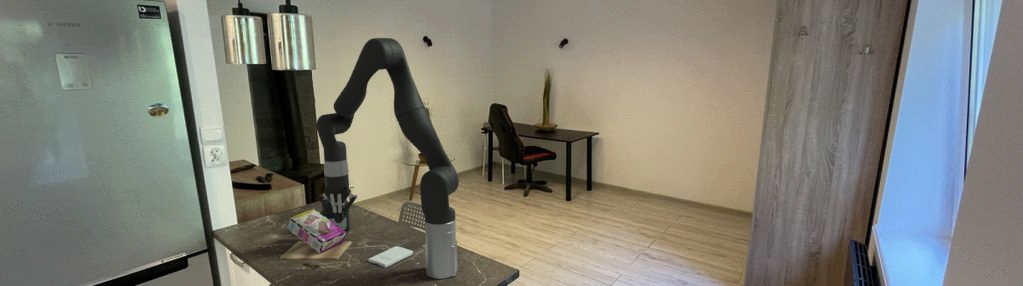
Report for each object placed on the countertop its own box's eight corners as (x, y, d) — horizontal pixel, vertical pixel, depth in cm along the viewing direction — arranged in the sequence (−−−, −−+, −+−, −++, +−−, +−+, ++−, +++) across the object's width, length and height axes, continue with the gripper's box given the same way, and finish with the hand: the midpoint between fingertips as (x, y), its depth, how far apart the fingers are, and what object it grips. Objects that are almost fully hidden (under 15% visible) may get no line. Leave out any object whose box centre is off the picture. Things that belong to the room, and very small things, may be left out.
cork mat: (351, 242, 169) (351, 241, 169) (337, 259, 155) (337, 257, 155) (298, 242, 169) (298, 241, 169) (279, 259, 155) (279, 257, 155)
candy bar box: (323, 242, 156) (288, 217, 161) (320, 254, 158) (285, 229, 162) (347, 231, 166) (313, 207, 171) (343, 242, 168) (310, 219, 173)
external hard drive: (413, 255, 160) (385, 268, 150) (395, 250, 165) (367, 262, 154) (413, 250, 160) (385, 264, 150) (395, 245, 164) (367, 258, 154)
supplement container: (343, 224, 187) (341, 195, 185) (355, 231, 180) (354, 201, 178) (316, 231, 180) (314, 201, 178) (328, 239, 173) (326, 207, 170)
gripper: (311, 175, 154) (315, 226, 157) (352, 176, 154) (355, 226, 157) (321, 170, 161) (324, 218, 164) (359, 170, 161) (362, 218, 164)
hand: (339, 222), depth 161 cm, fingers closed
